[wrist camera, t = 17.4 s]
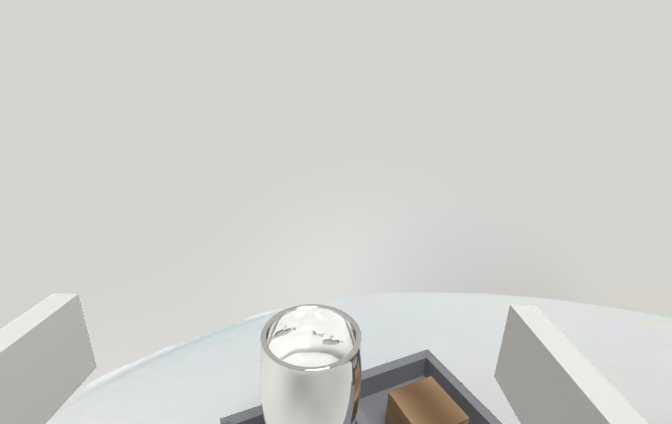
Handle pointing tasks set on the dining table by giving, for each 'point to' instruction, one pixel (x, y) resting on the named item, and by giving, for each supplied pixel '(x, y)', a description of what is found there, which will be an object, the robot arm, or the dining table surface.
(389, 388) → the tray
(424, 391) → the walnut block
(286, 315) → the beer glass
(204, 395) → the dining table surface
